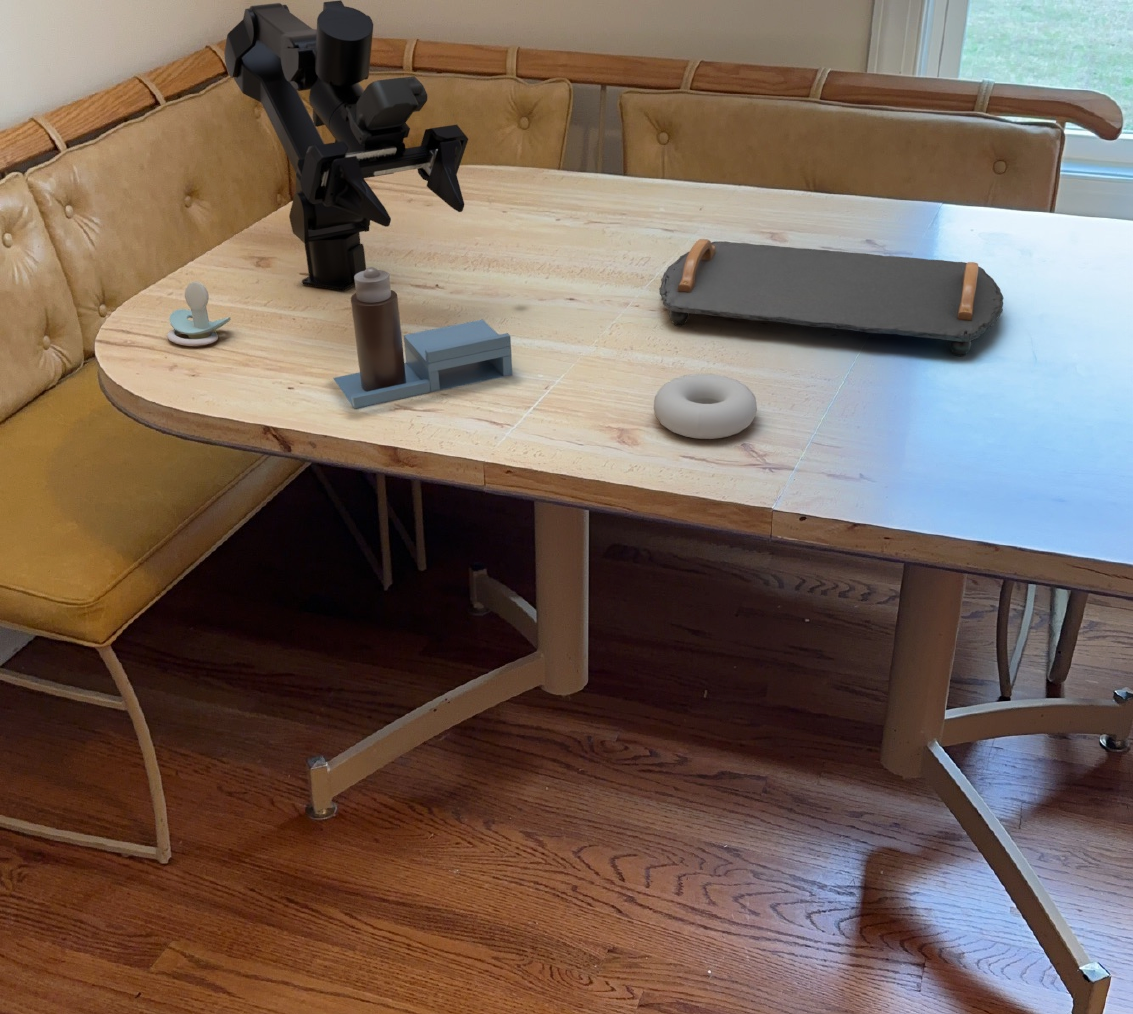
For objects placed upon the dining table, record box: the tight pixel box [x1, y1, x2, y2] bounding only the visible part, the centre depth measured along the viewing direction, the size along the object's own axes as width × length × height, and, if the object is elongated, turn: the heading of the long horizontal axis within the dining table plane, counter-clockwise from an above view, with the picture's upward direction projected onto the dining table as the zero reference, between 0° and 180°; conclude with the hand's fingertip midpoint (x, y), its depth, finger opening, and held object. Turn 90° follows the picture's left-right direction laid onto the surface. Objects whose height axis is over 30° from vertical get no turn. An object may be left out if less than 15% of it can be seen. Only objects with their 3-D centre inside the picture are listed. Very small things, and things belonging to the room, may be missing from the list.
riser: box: [333, 319, 513, 410], centre depth 125 cm, size 8×17×5 cm, turn 115°
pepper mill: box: [350, 266, 406, 392], centre depth 121 cm, size 5×5×13 cm
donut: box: [653, 373, 758, 440], centre depth 117 cm, size 10×4×10 cm
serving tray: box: [659, 238, 1004, 357], centre depth 139 cm, size 39×23×6 cm, turn 72°
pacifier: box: [166, 281, 232, 347], centre depth 136 cm, size 7×6×6 cm
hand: (426, 215), depth 126 cm, fingers open, 9 cm apart
